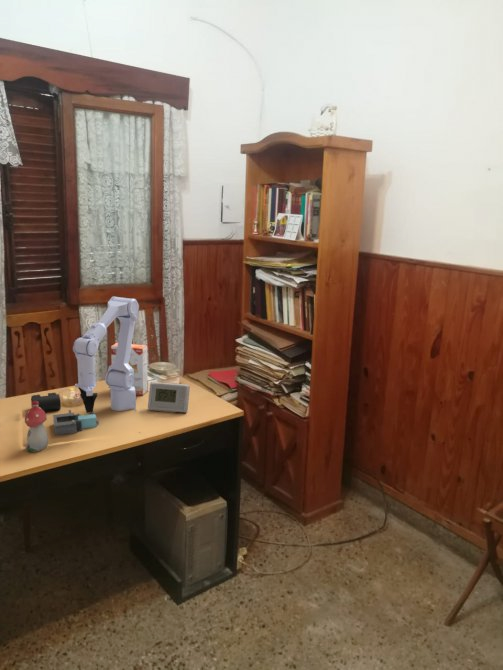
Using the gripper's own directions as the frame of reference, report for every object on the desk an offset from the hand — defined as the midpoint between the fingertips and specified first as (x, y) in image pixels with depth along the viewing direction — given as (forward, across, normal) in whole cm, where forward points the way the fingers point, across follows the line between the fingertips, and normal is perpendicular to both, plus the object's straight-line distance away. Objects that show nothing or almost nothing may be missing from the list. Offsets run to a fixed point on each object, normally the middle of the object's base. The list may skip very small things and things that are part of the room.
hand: (88, 408), depth 185 cm
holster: (+8, -10, -2) cm, 13 cm away
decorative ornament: (+8, +10, -18) cm, 22 cm away
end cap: (+8, -20, -14) cm, 25 cm away
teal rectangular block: (+8, 0, -1) cm, 8 cm away
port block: (+8, 0, -8) cm, 11 cm away
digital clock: (+8, -8, +31) cm, 33 cm away
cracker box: (+8, -32, +20) cm, 39 cm away
